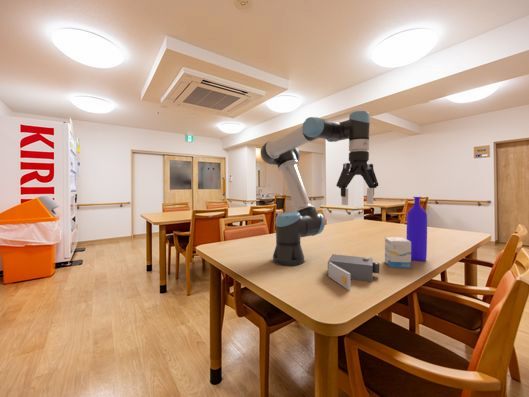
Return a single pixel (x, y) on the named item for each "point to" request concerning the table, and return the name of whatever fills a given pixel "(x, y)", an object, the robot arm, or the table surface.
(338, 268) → the side door
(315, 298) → the table surface
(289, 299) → the table surface
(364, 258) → the camera box
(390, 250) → the ink box
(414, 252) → the bottle
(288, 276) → the table surface
